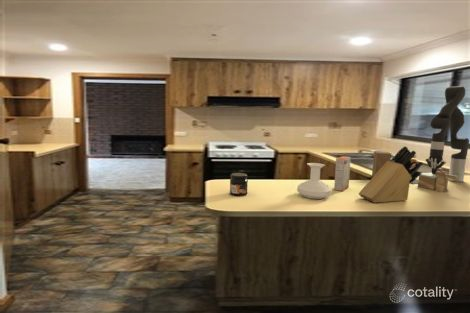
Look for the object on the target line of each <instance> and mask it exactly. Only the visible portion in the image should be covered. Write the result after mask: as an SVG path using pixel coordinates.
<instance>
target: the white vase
mask: <svg viewBox="0 0 470 313" xmlns="http://www.w3.org/2000/svg"><path fill="white" fill-rule="evenodd" d="M306 164H307V166H309V168H310V173H309V174H310V175H309V177H310V178H309V179H307V180H306V181H303V182H301V183H300V184H298V185H297V188H296V189H297V190H296V191H297V192H298V194H299V195H301V196H302V197H304V198H308V199H312V200H313V199H314V200H316V199H317V200H319V199H320V200H321V199H326V198H327V197H329V196H331V195H332V192H333V190H332V188H331V187H330V186H329V185H328V184H326V183H325V182H323V181H322V180H321V169H322V168H323V167H325V166H326V164H324V163H318V162H309V163H306Z"/></svg>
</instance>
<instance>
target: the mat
mask: <svg viewBox="0 0 470 313" xmlns="http://www.w3.org/2000/svg"><path fill="white" fill-rule="evenodd" d="M418 181H419V179H418V178H416V179H415V180H414V181H413V182H412V183H411V184H412V185H416V184H417V185H418ZM411 184H410V185H411Z"/></svg>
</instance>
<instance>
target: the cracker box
mask: <svg viewBox="0 0 470 313" xmlns="http://www.w3.org/2000/svg"><path fill="white" fill-rule="evenodd" d="M351 158H352V157H351V156H345V155H343V156H340V157H337V158H335V168H334V169H335V170H334V187H333V190H334V191H338V192H344V191H345V190H347V189H348V188H349V186H350V174H351V171H350V170H351Z"/></svg>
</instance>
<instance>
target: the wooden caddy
mask: <svg viewBox="0 0 470 313" xmlns="http://www.w3.org/2000/svg"><path fill="white" fill-rule="evenodd" d="M445 174H449V172H446V171H442V172H437V178H435V179H434V178H430V177H425V176H421V175H419V176H418V180H419V181H418V184H417V187H419V188H423V189H427V190H431V191H437V192H441V193H443V192H448V185H449V180H448V178H444V177H445Z"/></svg>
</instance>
